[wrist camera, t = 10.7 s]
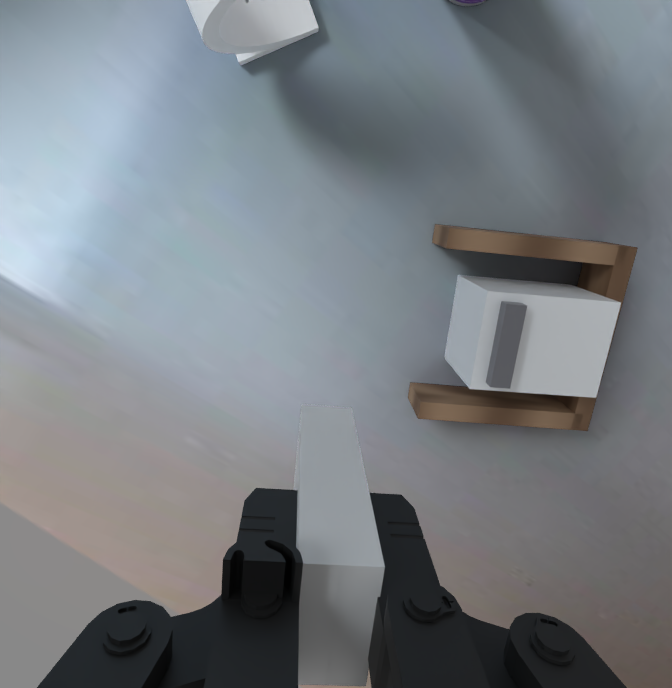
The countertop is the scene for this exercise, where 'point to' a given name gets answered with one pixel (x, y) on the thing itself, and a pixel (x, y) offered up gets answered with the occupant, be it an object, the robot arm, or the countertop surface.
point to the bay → (514, 407)
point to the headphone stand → (252, 25)
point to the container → (467, 2)
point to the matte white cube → (529, 336)
